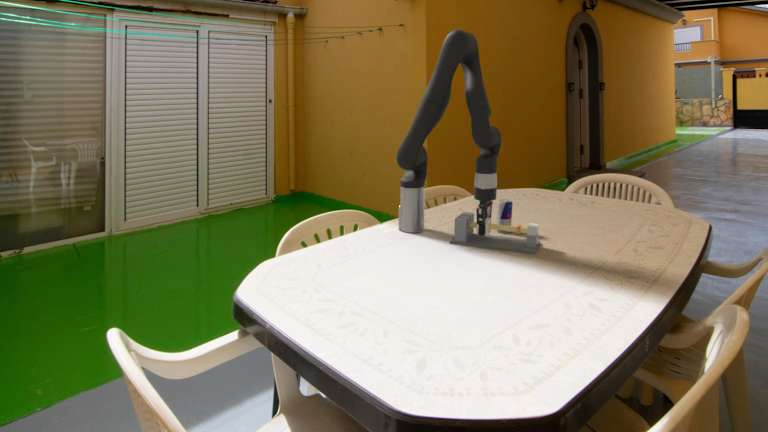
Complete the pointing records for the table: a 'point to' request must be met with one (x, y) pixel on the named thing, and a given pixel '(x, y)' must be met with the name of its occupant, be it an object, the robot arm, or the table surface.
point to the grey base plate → (498, 243)
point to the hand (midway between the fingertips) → (483, 232)
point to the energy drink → (504, 213)
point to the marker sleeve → (485, 226)
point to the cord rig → (467, 225)
